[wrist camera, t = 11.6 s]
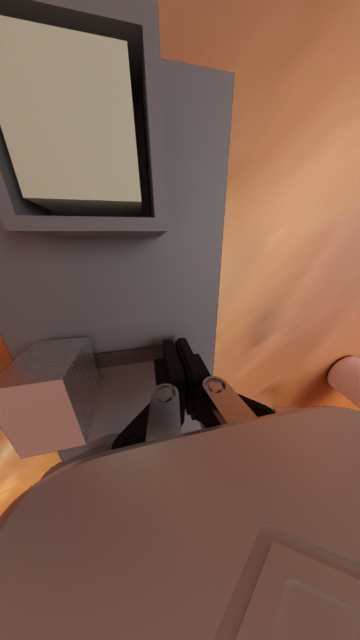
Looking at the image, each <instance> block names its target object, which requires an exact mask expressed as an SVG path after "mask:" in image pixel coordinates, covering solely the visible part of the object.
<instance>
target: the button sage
mask: <svg viewBox="0 0 360 640" xmlns="http://www.w3.org/2000/svg"><path fill="white" fill-rule="evenodd" d="M0 126H1V129H2V132H3V135H4V138H5V142H6V145H7V148H8V151H9V154H10V157H11V161H12V164H13V167H14V170H15V173H16V176H17V180H18V183H19V186H20V189H21V192H22V196H23V198H25V199H27V200H29V201H32V202H34V203H36V204H38V205H41V206H43V207H45V208H47V209H49V210H52V211H54V212H56V213H58V214H61V215H111V216H141V191H140V180H139V169H138V158H137V147H136V136H135V125H134V113H133V102H132V91H131V80H130V69H129V58H128V47H127V41H124V40H119V39H114V38H109V37H104V36H100V35H95V34H90V33H85V32H80V31H75V30H70V29H65V28H61V27H56V26H51V25H46V24H41V23H36V22H31V21H26V20H21V19H17V18H12V17H7V16H2V15H0Z"/></svg>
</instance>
